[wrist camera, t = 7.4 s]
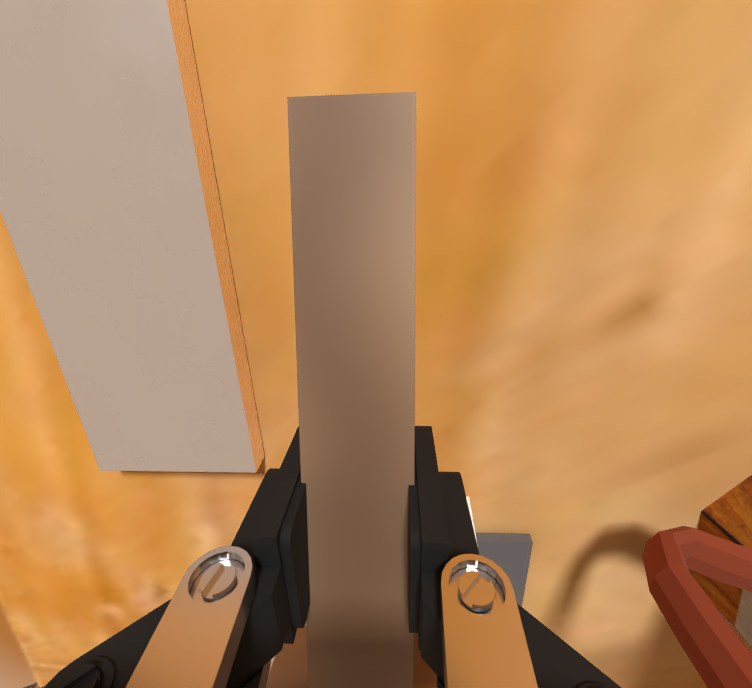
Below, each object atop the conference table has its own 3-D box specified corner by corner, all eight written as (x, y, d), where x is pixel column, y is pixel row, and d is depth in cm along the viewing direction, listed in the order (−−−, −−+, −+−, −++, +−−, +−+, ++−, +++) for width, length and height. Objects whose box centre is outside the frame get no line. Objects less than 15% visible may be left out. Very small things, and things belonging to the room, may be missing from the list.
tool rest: (173, -61, 11) (150, -89, 10) (264, 456, 19) (256, 472, 18) (-59, -41, 12) (-107, -66, 11) (117, 454, 19) (100, 470, 18)
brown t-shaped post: (471, 163, 11) (513, 87, 7) (460, 656, 13) (488, 812, 9) (266, 169, 11) (196, 100, 7) (286, 649, 13) (241, 794, 9)
